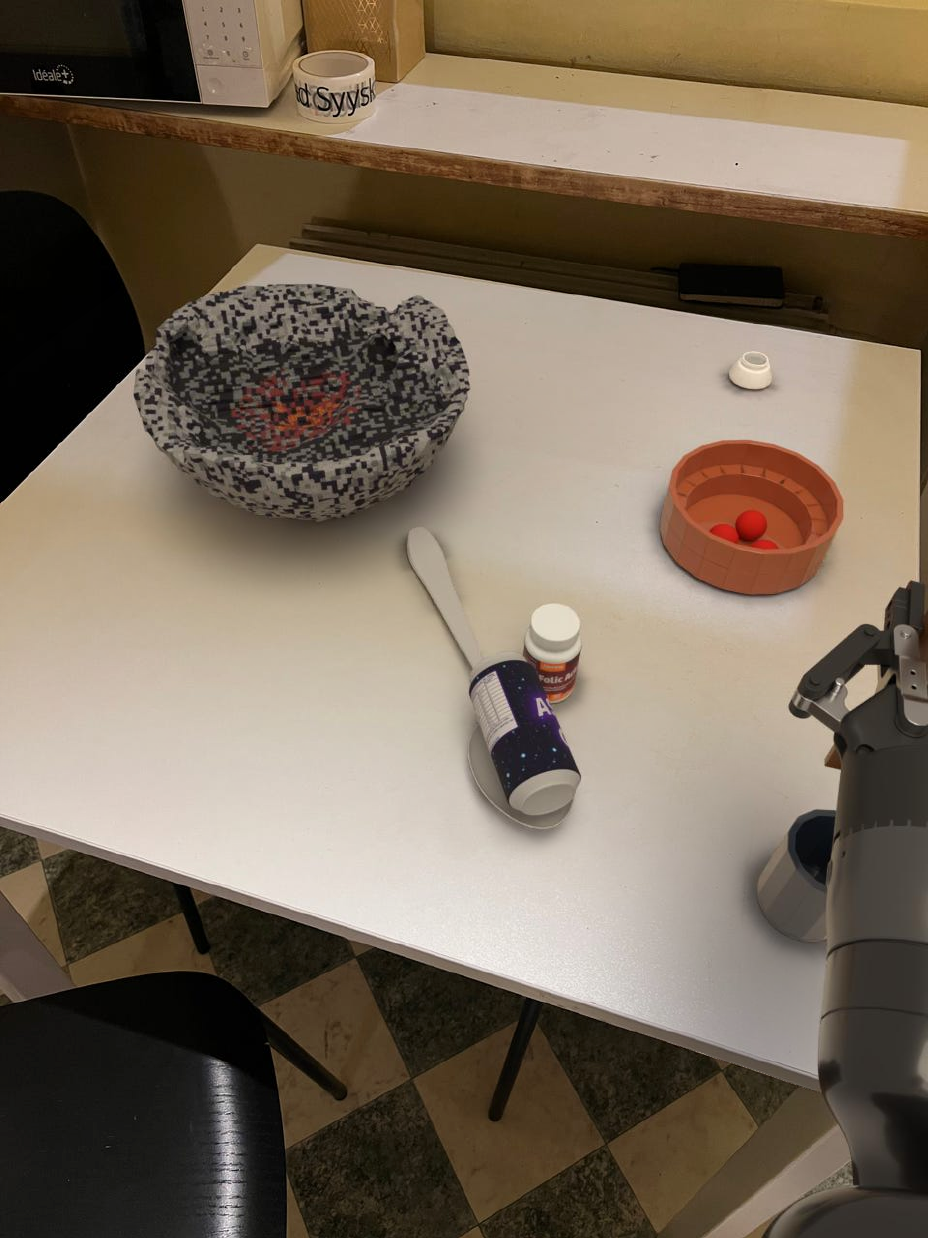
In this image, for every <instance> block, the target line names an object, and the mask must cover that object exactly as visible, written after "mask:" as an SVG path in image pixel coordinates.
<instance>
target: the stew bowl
mask: <svg viewBox="0 0 928 1238" xmlns="http://www.w3.org/2000/svg"><path fill="white" fill-rule="evenodd" d="M748 510H755V511H758V512H760V513H762V514H763V515H764V517H765V518H766V521H767V529H766V531H765V533H764V534H763V536H761V537H760V538H759V539H756V540H745V539H743V538H741V537H740V536H739V535H738V537H739V541H738V544H735V543H732V542H730V541H728V540H725V539H723V538H720V537H718V536H716V535H713V534H712V533H710V532H709V531H710V529H711V528H713V527H714V526H716V525H718V524H728V525H730V526H732V527H733V528H734V529H735V523H736V520H737V518H738V516H739V515H740V514H741V513H743V512H745V511H748ZM843 521H844V499H843V496H842V493H840V490H839V488H838V486H837V484H836V482H835V480H833V478H831V476H830V475H829V474H828V473H827V472H825V470H824V469H823V468H822V467H821V466H819V465H818V464H817V463H815V462H814V461H812V460H811V459H809V458H807V457H805V456H804V455H802V454H801V453H799V452H797V451H794V450H791V449H788V448H786V447H784V446H781V445H778V444H774V443H771V442H770V443H769V442H766V441H765V442H764V441H759V440H752V439H722V440H717V441H715V442H711V443H706V444H702V445H699V446H698V447H696V448H694V449H693V450H691V451H689V452H687V453H686V454H684V455H683V456H681V458H680V460H679V461H678V462H677V463H676V464H675V466H674V467H673V469H672V470H671V474H670V478H669V482H668V485H667V490H666V495H665V499H664V504H663V507H662V511H661V517H660V522H659V527H658V528H659V531H660V536H661V539H662V543H663V546H664V547H665V549H666V550H667V551H668V553H669V554H670V555H671V557H672V558H673V560H674V561H675V563H677V564H678V566H680V567H681V568H683V569H684V570H685V571H687V572H688V573H690V574H691V575H692V576H693V577H695V578H696V579H698V580H700V581H702V582H704V583H707V584H709V585H711V586H714V587H716V588H719V589H722V590H725V591H730V592H735V593H740V594H745V595H750V596H751V595H776V594H779V593H783V592H786V591H790V590H793V589H796V588H799V587H801V586H802V585H804V584H805V583H807V582H808V581H809V580H811V579H812V578H813V577H814V576H817V574H818V572H819V570H820V568H821V567H822V565H823V563H824V561H825V559H826V557H827V555H828V553H829V551H830V550H831V549H830V548H831V546H832V545H833V542H834V540H835V538H836V536H837V533H838V532H839V530H840V527H841V525H842V523H843ZM735 530H736V529H735ZM758 540H770V541H772V542H774V543H775V544H776V545H777V546H778V548H779V549H766V550H764V549H758V548H753V547H750V546H751V545H752V544H753V543H754V542H756V541H758Z"/></svg>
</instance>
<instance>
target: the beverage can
mask: <svg viewBox="0 0 928 1238" xmlns="http://www.w3.org/2000/svg"><path fill="white" fill-rule="evenodd" d="M471 669H472V668H471ZM468 681H469V687H468V688H469V689H468V696H469V699H470V701H471V705H472V707H473V711H474V712H475V713H474V714H475V716H476V718H477V721H478V722H479V724H480V727H481V730H482V732H483V735H484V738H485V741H486V744H487V746H488V749H489V752H490V755H491V758H492V760H493V763H494V766H495V769H496V772H497V774H498V777H499V780H500V783H501V785H502V788H503V791H504V794H505V797H506V799H507V802H508V804H509V805H510V806H511V807H512V808H514V809H517V810H520V811H522V812H523V813H525V814H527V815H543V814H547V813H550V812H553V811H555V810H558V809H560V808H561V807H563V806H565V805H566V804H567V803H569V802H570V801H571V800H572V799H573V797H574V796H575V797H576V793H577V789H578V787H579V786H580V783H581V781H582V775H581V772H580V770H579V767H578V765H577V762H576V760H575V758H574V756H573V753H572V750H571V748H570V747H569V743H568V742H567V739H566V737H565V735H564V732H563V730H562V728H561V725H560V723H559V720H558V717H557V716H556V714H555V711H554V709H553V707H552V703H550V702H549V699H548V697H547V695H546V692H545V690H544V688H543V685H542V683H541V681H540V678H539V676H538V674H537V671H536V669H535V668H534V667H533V666H532V665H531V664H530V663H528V662H527V660H526V659H525V657H524V656H523V654H521V653H518V652H516V651H515V652H514V651H503V652H498V653H494V654H492V655H489V656H487V657H485V658H483V660H482V661H480V662H479V663H478V664H477V665H476V666H475V667H474V668H473V669H472V670H471V671H470V673H469V678H468ZM575 797H574V798H575Z"/></svg>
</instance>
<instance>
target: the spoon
mask: <svg viewBox="0 0 928 1238" xmlns="http://www.w3.org/2000/svg"><path fill="white" fill-rule="evenodd" d="M406 554H407V558H408V562H409V564H410V566H411V567H412V569H413V571H414V572H415V574H416V575H417V577H418V578H419V579H420V581H421V583H422V584H423V586H424V587H425V589H426V590H427V592H428V593H429V595H430V597H431V599H432V600H433V602H434V604H435V605H436V607H437V609H438V611H439V613H440V615H441V616H442V618H443V620H444V621H445V623H446V625H447V627H448V629H449V631H450V633H451V634H452V636H453V638H454V639H455V641H456V643H457V645H458V646H459V648H460V650H461V652H462V653H463V655H464V657H465V658H466V660H467V662H468V664H469V665H470V667H471V669H473V668H474V667H475V666H476V665H477V664H478V663H479V662H480V661H482V660H483V659H484V657H483V655H482V653H481V649H480V647H479V645H478V643H477V640H476V637H475V636H474V635H475V634H474V632H473V630H472V628H471V625H470V623H469V620H468V618H467V615H466V613H465V611H464V608H463V605H462V603H461V600H460V598H459V596H458V593H457V591H456V588H455V585H454V583H453V580H452V577H451V574H450V571H449V565H448V563H447V559H446V556H445V554H444V551H443V549H442V547H441V545H440V544H439V542H438V541H437V539H436V538H435V536H434V535H433V534H432V532H431V531H430V530H429V529H428V528H426V527H424V526H414V527H412V528H411V529H410V530H409V532H408V534H407V537H406ZM467 758H468V763H469V768H470V770H471V773H472V776H473V778H474V781H475V783H476V785H477V787H478V789H479V790H480V792H481V793H483V795H484V797H486V799H487V800H488V801H489V802H490V803H491V804H492V805H493V806H494V807H495V808H496V809H498V810H499V812H501V813H503V814H504V815H505V816H507V817H508V818H510V819H511V820H513V821H514V822H516V823H518V824H520V825H523V826H525V827H527V828H529V829H530V828H531V829H534V830H548V829H552V828H555V827H557V826H559V825H560V824H562V823H563V822H564V821H565V819H567V818H568V816H569V814H570V812H571V810H572V808H573V805H574V803H575V797H576V795H575V796H574V797H573V799H572V800H571V801H570V802H569V803H567V804H566V805H565V806H563V807H561V808H560V809H558V810H555V811H553V812H550V813H547V814H543V815H527V814H525V813H523V812H522V811H520V810H517V809H514V808H512V807H511V806H510V805H509V804H508V802H507V799H506V797H505V794H504V791H503V788H502V785H501V783H500V780H499V777H498V774H497V772H496V769H495V766H494V763H493V760H492V758H491V755H490V752H489V749H488V746H487V744H486V741H485V738H484V735H483V732H482V730H481V727H480V724H479V721H478V723H477V724H476V726H475V727H474V729H473V730H472V732H471V734H470V737H469V739H468V743H467Z"/></svg>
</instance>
